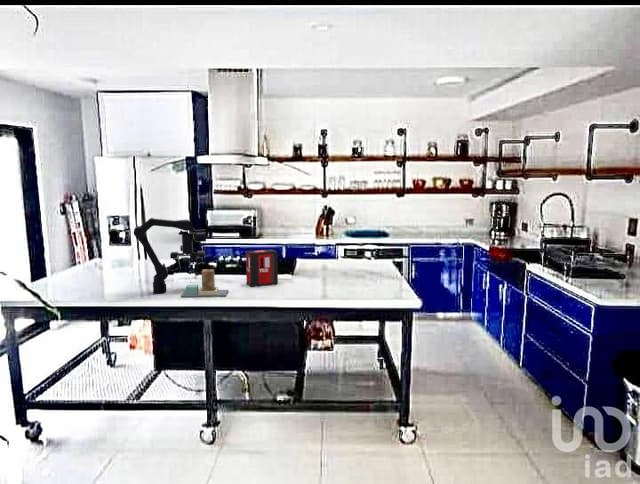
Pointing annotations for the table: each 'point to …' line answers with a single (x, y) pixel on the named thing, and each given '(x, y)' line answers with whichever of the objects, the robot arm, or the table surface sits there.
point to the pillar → (208, 280)
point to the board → (202, 292)
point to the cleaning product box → (261, 268)
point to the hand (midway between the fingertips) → (188, 269)
